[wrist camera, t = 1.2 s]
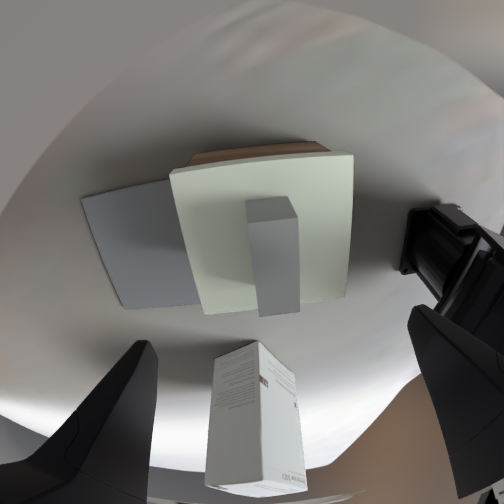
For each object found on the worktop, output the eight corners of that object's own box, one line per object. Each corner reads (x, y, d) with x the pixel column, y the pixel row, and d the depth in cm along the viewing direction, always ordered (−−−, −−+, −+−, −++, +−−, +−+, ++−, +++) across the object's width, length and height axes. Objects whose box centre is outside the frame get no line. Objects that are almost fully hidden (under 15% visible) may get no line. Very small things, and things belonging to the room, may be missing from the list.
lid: (335, 278, 18) (357, 325, 14) (206, 294, 18) (201, 346, 14) (339, 147, 14) (376, 169, 10) (177, 164, 14) (154, 192, 10)
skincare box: (294, 372, 31) (314, 489, 18) (251, 389, 32) (259, 499, 20) (255, 336, 27) (267, 483, 14) (208, 357, 29) (202, 490, 16)
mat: (298, 289, 24) (299, 292, 24) (125, 306, 24) (124, 309, 24) (293, 162, 18) (294, 163, 18) (83, 197, 19) (81, 199, 18)
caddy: (317, 245, 22) (336, 284, 17) (214, 257, 22) (209, 299, 17) (315, 141, 17) (340, 156, 13) (194, 154, 17) (180, 173, 13)
